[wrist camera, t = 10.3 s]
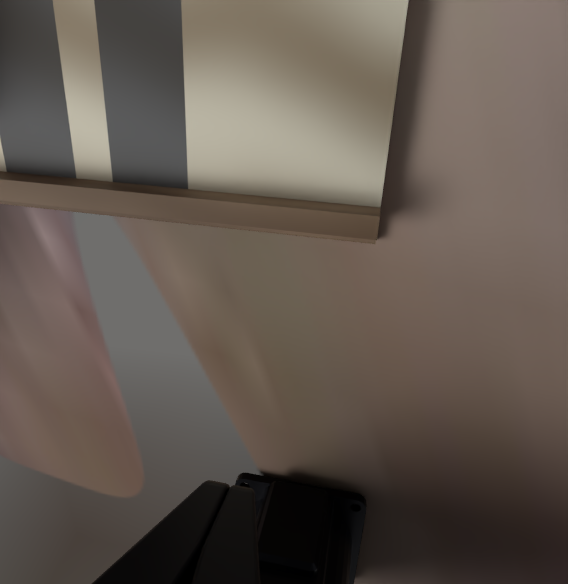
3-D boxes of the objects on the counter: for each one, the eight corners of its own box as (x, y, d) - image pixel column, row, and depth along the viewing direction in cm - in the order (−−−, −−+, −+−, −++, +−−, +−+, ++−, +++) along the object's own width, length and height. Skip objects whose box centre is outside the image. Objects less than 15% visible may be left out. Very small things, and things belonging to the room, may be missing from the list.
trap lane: (375, 239, 18) (374, 260, 16) (-120, 187, 21) (-171, 198, 20) (432, -181, 13) (440, -227, 11) (-228, -163, 16) (-312, -194, 14)
